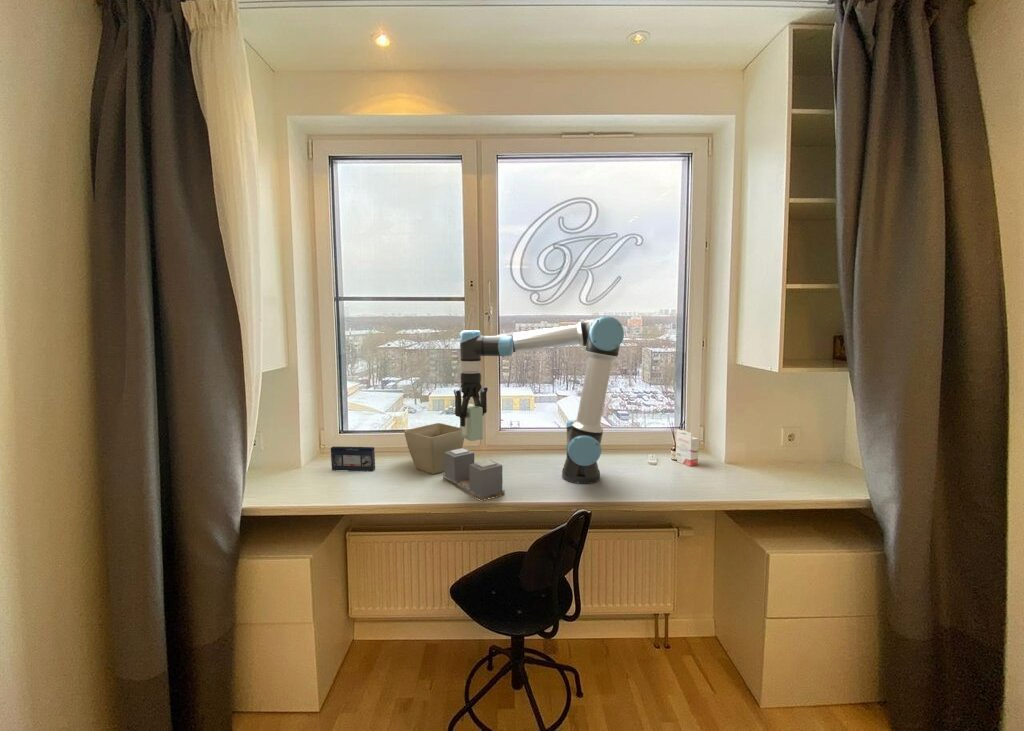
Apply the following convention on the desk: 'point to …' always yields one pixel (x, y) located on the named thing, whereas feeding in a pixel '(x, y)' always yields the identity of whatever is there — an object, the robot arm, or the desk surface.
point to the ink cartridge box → (686, 448)
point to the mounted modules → (474, 472)
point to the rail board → (465, 487)
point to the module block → (473, 423)
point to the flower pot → (432, 445)
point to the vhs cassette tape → (353, 458)
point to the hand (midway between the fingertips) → (471, 433)
